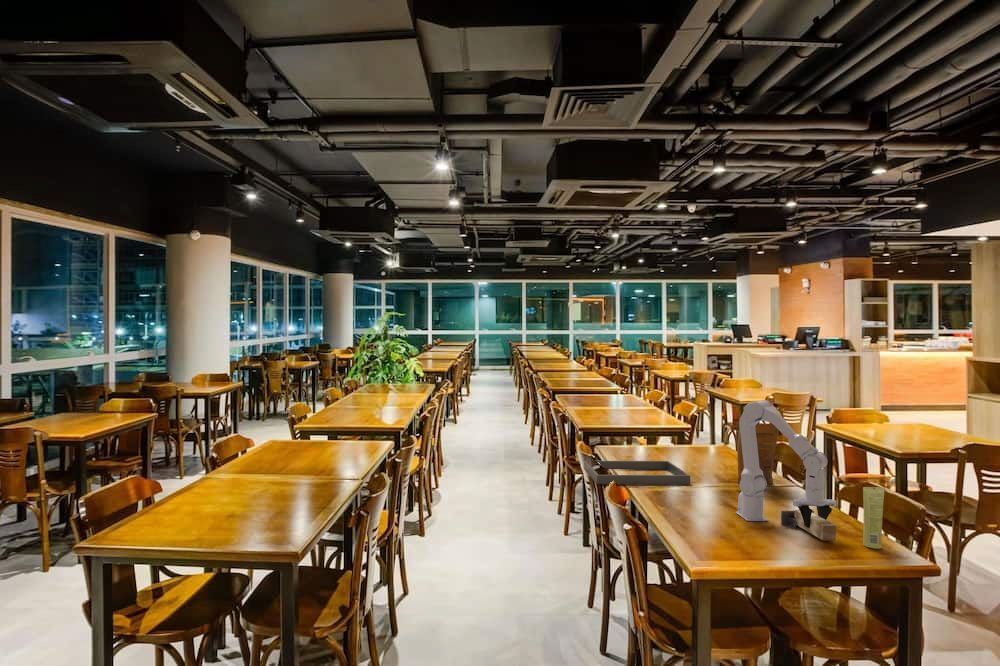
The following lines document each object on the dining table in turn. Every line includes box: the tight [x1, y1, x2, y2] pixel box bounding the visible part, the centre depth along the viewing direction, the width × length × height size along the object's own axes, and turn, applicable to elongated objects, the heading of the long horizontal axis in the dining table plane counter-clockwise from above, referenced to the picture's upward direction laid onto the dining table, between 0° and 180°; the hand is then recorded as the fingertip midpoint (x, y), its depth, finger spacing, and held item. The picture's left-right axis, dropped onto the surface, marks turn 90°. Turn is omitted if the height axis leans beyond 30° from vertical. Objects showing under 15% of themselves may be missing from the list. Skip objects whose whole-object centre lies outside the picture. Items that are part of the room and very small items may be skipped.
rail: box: [794, 509, 837, 541], centre depth 195 cm, size 16×4×5 cm, turn 3°
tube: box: [862, 486, 885, 550], centre depth 185 cm, size 6×5×20 cm
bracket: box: [780, 510, 815, 530], centre depth 202 cm, size 5×12×5 cm, turn 93°
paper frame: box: [583, 460, 691, 485], centre depth 268 cm, size 28×43×4 cm, turn 93°
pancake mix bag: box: [736, 423, 779, 486], centre depth 258 cm, size 7×19×28 cm, turn 88°
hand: (813, 526), depth 195 cm, fingers closed on rail, 4 cm apart
